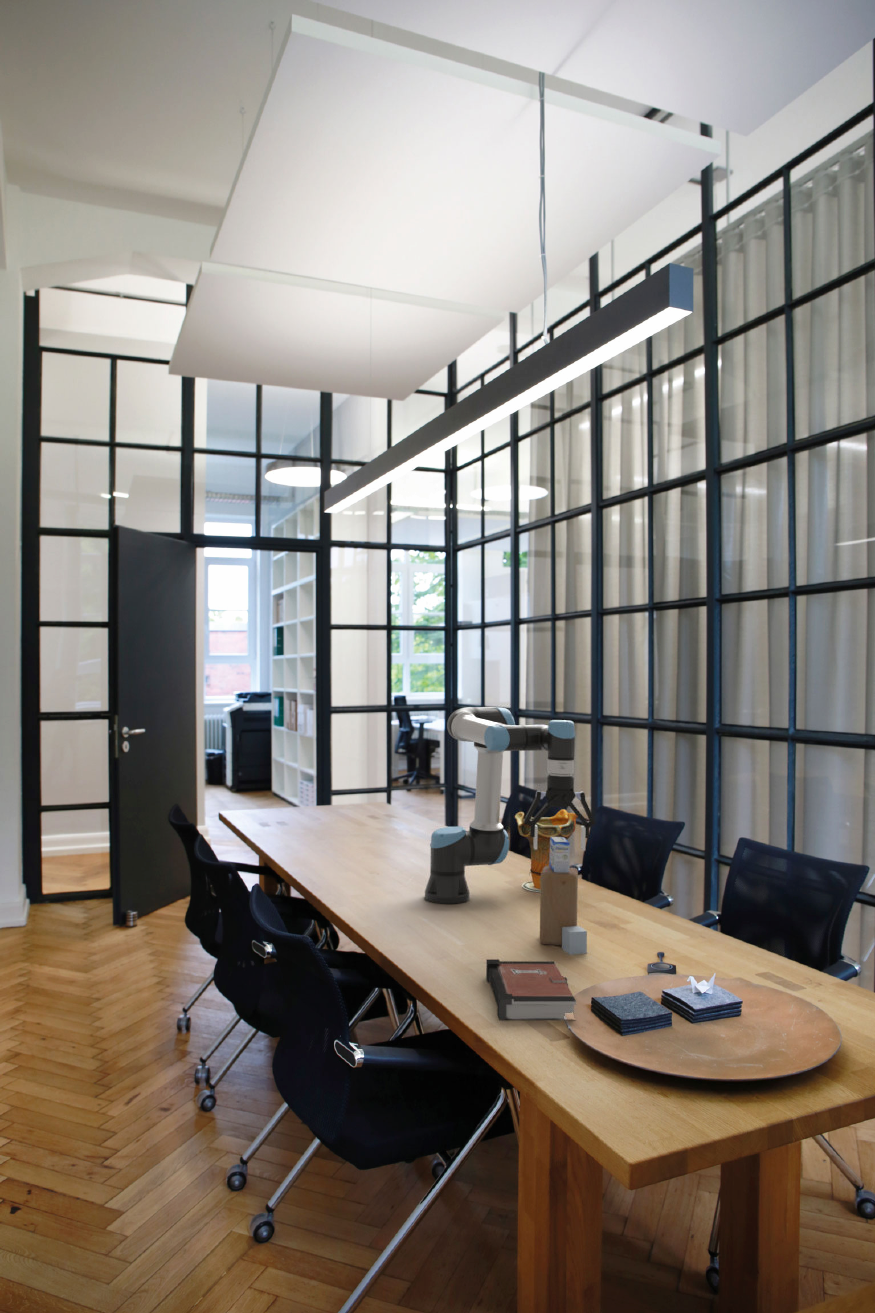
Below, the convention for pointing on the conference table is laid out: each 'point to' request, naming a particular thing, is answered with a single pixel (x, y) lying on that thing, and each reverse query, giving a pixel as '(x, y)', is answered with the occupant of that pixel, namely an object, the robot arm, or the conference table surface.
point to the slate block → (574, 940)
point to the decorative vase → (544, 841)
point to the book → (529, 990)
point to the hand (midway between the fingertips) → (559, 849)
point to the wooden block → (557, 904)
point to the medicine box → (559, 855)
